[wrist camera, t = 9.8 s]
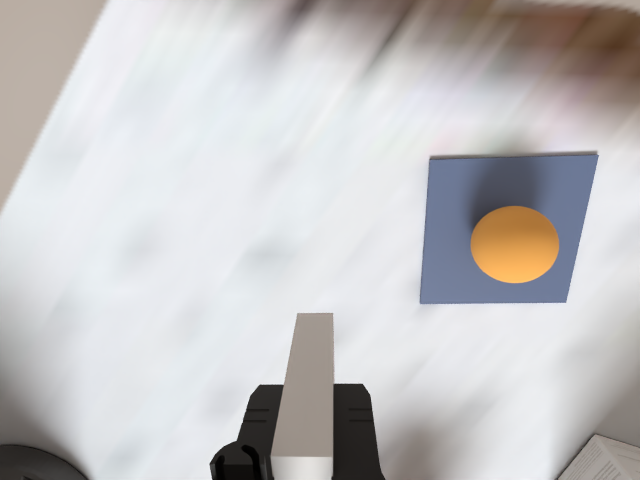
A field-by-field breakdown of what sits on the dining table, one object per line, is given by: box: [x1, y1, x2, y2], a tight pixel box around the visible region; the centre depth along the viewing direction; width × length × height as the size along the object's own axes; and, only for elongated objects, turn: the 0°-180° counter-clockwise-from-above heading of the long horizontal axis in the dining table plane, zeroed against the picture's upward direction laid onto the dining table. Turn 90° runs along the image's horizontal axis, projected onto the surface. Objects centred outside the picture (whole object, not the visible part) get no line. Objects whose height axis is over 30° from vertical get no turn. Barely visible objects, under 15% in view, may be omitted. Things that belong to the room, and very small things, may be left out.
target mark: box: [420, 155, 599, 304], centre depth 27 cm, size 12×12×1 cm
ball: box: [471, 206, 559, 283], centre depth 25 cm, size 6×6×6 cm
